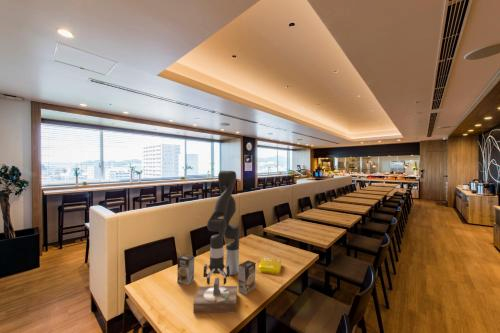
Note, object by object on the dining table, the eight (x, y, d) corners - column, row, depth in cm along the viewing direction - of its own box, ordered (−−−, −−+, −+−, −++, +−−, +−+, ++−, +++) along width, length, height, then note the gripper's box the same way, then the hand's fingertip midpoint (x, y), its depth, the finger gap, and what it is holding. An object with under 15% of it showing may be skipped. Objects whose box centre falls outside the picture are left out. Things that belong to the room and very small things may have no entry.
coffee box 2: (245, 295, 123) (246, 268, 123) (237, 291, 127) (238, 265, 127) (255, 288, 130) (255, 262, 130) (247, 284, 134) (247, 259, 134)
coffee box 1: (176, 282, 136) (176, 257, 136) (183, 277, 142) (183, 253, 142) (188, 285, 133) (188, 260, 133) (194, 280, 139) (194, 255, 139)
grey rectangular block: (213, 289, 119) (213, 277, 119) (220, 289, 120) (220, 277, 119) (211, 301, 109) (211, 288, 109) (218, 301, 109) (218, 288, 109)
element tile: (258, 272, 150) (258, 265, 150) (262, 262, 164) (262, 256, 164) (279, 275, 146) (279, 268, 146) (281, 265, 160) (281, 259, 160)
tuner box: (199, 294, 123) (199, 285, 123) (236, 294, 124) (236, 285, 124) (193, 313, 108) (193, 302, 108) (235, 312, 109) (235, 302, 109)
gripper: (230, 251, 120) (229, 280, 120) (205, 251, 119) (204, 280, 119) (229, 257, 112) (229, 287, 112) (202, 257, 112) (202, 287, 112)
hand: (216, 283), depth 116 cm, fingers open, 8 cm apart
